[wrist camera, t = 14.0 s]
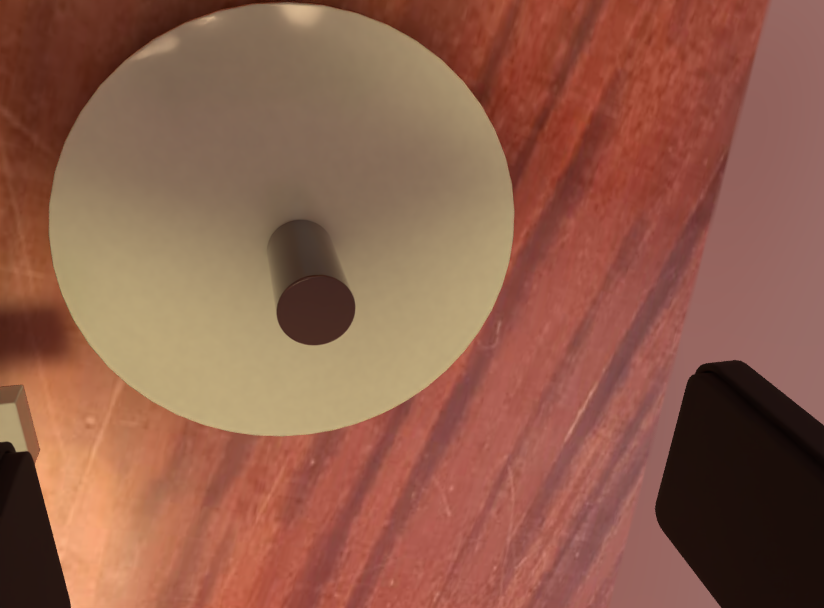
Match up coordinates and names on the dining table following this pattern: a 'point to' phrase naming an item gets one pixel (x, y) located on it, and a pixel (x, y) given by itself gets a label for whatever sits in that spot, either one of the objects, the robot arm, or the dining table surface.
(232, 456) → the dining table surface
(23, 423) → the pot
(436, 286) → the lid
